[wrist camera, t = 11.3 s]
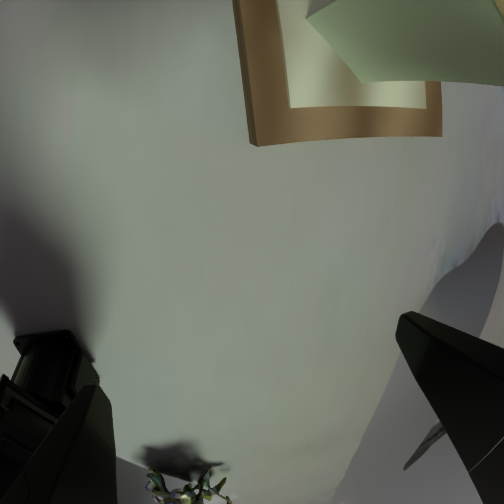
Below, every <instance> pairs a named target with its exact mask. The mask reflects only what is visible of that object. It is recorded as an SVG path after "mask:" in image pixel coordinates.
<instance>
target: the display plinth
mask: <svg viewBox="0 0 504 504" xmlns="http://www.w3.org/2000/svg"><path fill="white" fill-rule="evenodd" d="M330 1H331V0H232V2H233V10H234V17H235V25H236V33H237V41H238V49H239V57H240V65H241V73H242V82H243V90H244V98H245V106H246V115H247V123H248V132H249V140H250V144H253V145H255V146H257V147H260V146H267V145H276V144H285V143H294V142H304V141H316V140H328V139H343V138H362V137H393V136H432V137H442V96H441V81H384V82H365V83H361V81H360V80H359V79H358V78H357V76H356V75H355V74H354V73H353V71H352V70H351V69H350V68H349V67H348V65H347V64H346V63H345V62H344V61H343V59H342V58H341V57H340V56H339V55H338V54H337V52H336V51H335V50H334V49H333V48H332V47H331V46H330V45H329V43H328V42H327V41H326V40H325V39H324V38H323V37H322V36H321V35H320V34H319V33H318V32H317V31H316V30H315V29H314V27H313V26H312V25H311V24H310V23H309V22H308V21H307V20H306V19H307V18H308V17H309V16H311V15H312V14H313V13H315V12H316V11H317V10H319V9H320V8H321V7H323V6H324V5H325V4H327V3H328V2H330Z"/></svg>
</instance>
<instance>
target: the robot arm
mask: <svg viewBox="0 0 504 504" xmlns="http://www.w3.org/2000/svg"><path fill="white" fill-rule="evenodd" d="M66 336H68V337H66ZM396 341H397V343H398V345H399V347H400V349H401V351H402V353H403V355H404V357H405V359H406V361H407V363H408V365H409V368H410V370H411V372H412V374H413V376H414V378H415V379H416V381H417V383H418V385H419V386H420V388H421V390H422V391H423V393H424V394H425V396H426V398H427V399H428V401H429V403H430V405H431V406H432V408H433V410H434V411H435V413H436V415H437V417H438V418H439V420H440V422H441V424H442V425H443V427H444V429H445V431H446V432H447V434H448V436H449V438H450V439H451V441H452V443H453V445H454V446H455V449H456V450H457V452H458V454H459V456H460V458H461V460H462V462H463V464H464V465H465V467H466V469H467V471H468V472H469V475H470V477H471V479H472V481H473V483H474V485H475V487H476V489H477V491H478V494H479V496H480V498H481V500H482V502H483V504H504V348H501V347H499V346H496V345H494V344H492V343H489V342H487V341H484V340H482V339H480V338H477V337H474V336H472V335H470V334H467V333H465V332H463V331H460V330H458V329H455V328H453V327H450V326H448V325H446V324H443V323H440V322H438V321H436V320H433V319H431V318H429V317H426V316H423V315H421V314H419V313H416V312H414V311H409V312H406V313H404V314H402V315H401V316H400V317H399V321H398V325H397V330H396ZM13 343H14V345H15V347H16V348H17V350H18V351H19V353H20V354H21V357H20V359H19V362H18V364H17V366H16V369H15V371H14V373H13V376H12V378H11V380H9V377H7V376H6V375H5V374H2V376H1V377H0V504H118V503H117V483H116V450H115V440H114V430H113V418H112V406H111V403H110V400H109V399H108V397H107V396H106V394H105V393H104V391H103V390H102V388H101V387H100V386H99V383H100V380H99V379H98V377H97V375H96V374H95V371H94V369H93V368H92V366H91V364H90V363H89V361H88V359H87V358H86V356H85V354H84V353H83V352H82V350H81V349H80V347H79V345H78V343H77V342H76V340H75V338H74V336H73V334H72V333H71V332H70V331H68V330H63V331H56V332H48V333H41V334H33V335H25V336H17V337H15V339H14V341H13Z"/></svg>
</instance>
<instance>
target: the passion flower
mask: <svg viewBox="0 0 504 504" xmlns="http://www.w3.org/2000/svg"><path fill="white" fill-rule="evenodd" d="M210 468H211V467H209V468H208V470H207V472H206V474H205V475H203V476H202V477H201V478H199V481H198V484H197V485H196V486H195V487H194V488H193V489H192V486H191V483H189V484H187V485H185V486H184V489H183V492H181V491H174V492H172V493H171V492H169V491H168V490H167V488H166V486H165V482H164V478H163V476H162V475H161V473H160V472H159V471H158V470H157V469H155V468H153V467H151V469H149V474H148V475H146V477H148V478H149V479H150V481H149V482H148V483H147V484H146V487H145V488H146V489H147V490H149V491H150V493H151V494H152V498H153V499H154V500H155V502H158V503H160V504H204V503H203V498H205V499H207V500H208V501H210V500H211V498H212V496H213V495H216V494H217V495H218V496H220V497H221V498H223V499H225V500H226V501H227V504H232V502H231V501H230V499H229V497H228V496H226V498H225V497H223V496H221V495H219V491H220V489H221V488H222V486H223V485H224V484H225V482H226V477H225V478H224V479H223V480H222V481H221V482H220V483H219V484H218V485H216V486H215V487H213V488H210V484H209V473H210ZM204 486H205V487H207V488H208V490H205V489H203V487H204ZM195 489H199V493H198V494H197V495H196V493H195V492H194V490H195Z"/></svg>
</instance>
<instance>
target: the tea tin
mask: <svg viewBox="0 0 504 504" xmlns="http://www.w3.org/2000/svg"><path fill="white" fill-rule="evenodd" d="M306 20H307V21H308V22H309V23H310V24H311V25H312V26H313V27H314V29H315V30H316V31H317V32H318V33H319V34H320V35H321V36H322V37H323V38H324V39H325V40H326V41H327V42H328V43H329V45H330V46H331V47H332V48H333V49H334V50H335V51H336V52H337V54H338V55H339V56H340V57H341V58H342V59H343V61H344V62H345V63H346V64H347V65H348V67H349V68H350V69H351V70H352V71H353V73H354V74H355V75H356V76H357V78H358V79H359V80H360V81H361V83H365V82H384V81H446V82H463V83H476V84H486V85H495V86H503V87H504V0H331V1H330V2H328V3H327V4H325V5H324V6H323V7H321V8H320V9H319V10H317V11H316V12H315V13H313V14H312V15H311V16H309V17H308V18H307V19H306Z"/></svg>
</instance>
